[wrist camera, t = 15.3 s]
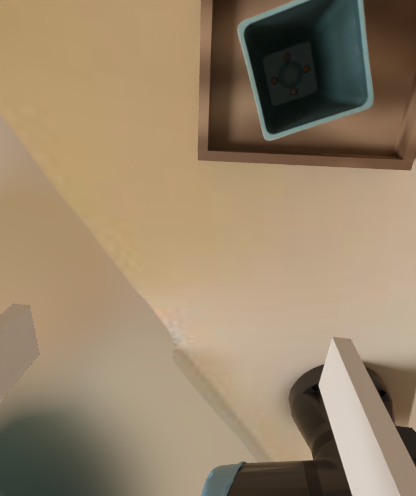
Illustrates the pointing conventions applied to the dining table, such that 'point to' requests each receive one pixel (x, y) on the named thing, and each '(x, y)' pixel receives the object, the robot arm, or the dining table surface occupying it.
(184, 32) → the dining table surface
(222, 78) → the holder tray
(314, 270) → the dining table surface
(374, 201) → the dining table surface
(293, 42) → the flower pot
